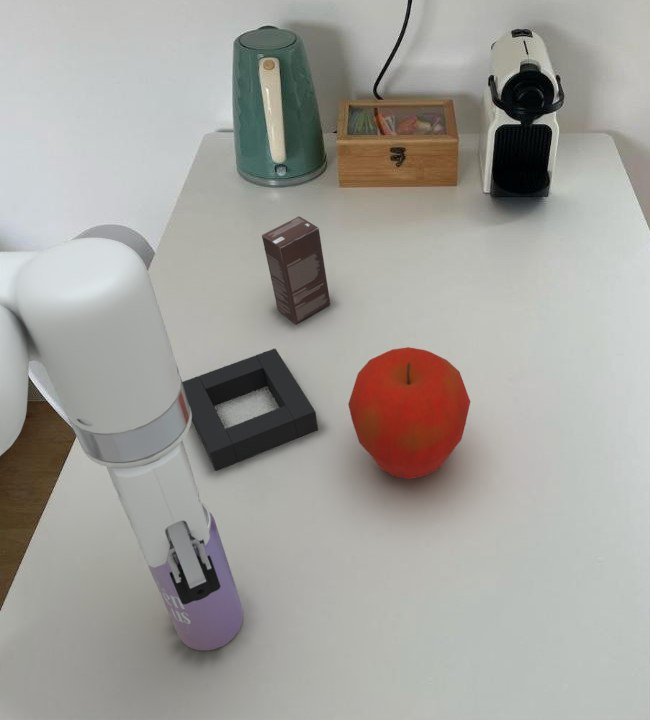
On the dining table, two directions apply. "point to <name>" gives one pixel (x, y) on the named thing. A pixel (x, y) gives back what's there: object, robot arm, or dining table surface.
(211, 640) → the beverage can
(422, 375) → the apple
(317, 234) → the box
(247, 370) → the socket pad
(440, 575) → the dining table surface
